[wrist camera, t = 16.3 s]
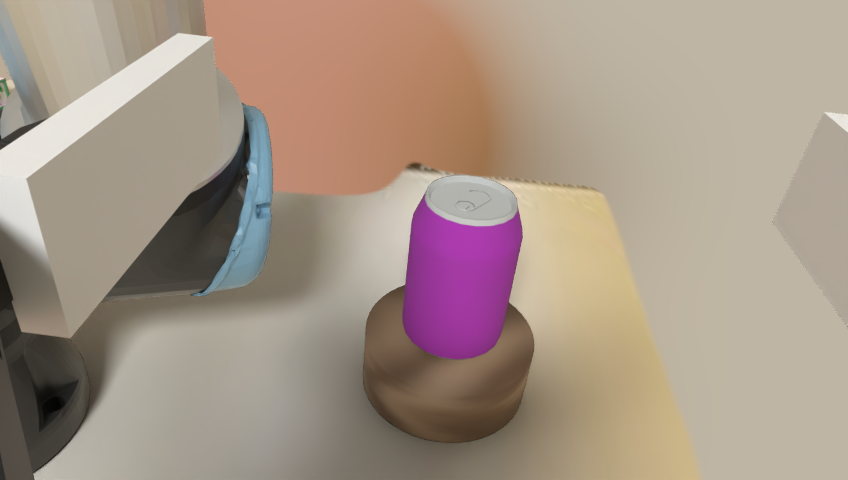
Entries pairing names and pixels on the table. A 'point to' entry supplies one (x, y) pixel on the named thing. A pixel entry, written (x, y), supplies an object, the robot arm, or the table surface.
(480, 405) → the walnut pedestal
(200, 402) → the table surface
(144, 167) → the robot arm
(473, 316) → the beverage can
